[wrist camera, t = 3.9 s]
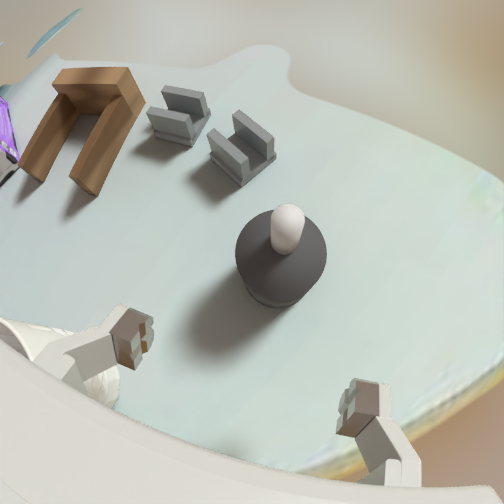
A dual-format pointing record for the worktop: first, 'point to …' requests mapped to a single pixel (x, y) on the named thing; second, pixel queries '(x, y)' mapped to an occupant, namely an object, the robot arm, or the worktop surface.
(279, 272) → the plug
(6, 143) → the candy box
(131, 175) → the worktop surface
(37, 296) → the worktop surface
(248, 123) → the clip
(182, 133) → the clip
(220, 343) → the worktop surface
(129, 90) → the frame
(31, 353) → the white cup
